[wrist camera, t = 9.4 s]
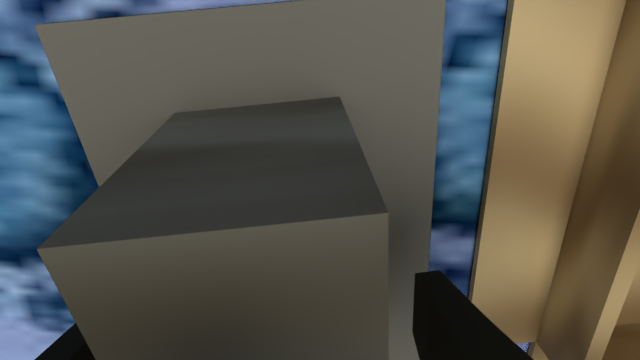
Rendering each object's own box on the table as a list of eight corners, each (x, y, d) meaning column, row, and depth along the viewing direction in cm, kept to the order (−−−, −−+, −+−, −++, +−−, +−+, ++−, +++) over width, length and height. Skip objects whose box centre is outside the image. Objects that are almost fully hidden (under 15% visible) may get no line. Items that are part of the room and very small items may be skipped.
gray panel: (417, 354, 16) (421, 366, 15) (184, 378, 16) (180, 392, 15) (438, -13, 10) (447, -13, 9) (48, 23, 9) (34, 25, 9)
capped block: (354, 329, 14) (388, 532, 9) (236, 342, 14) (200, 554, 9) (339, 96, 10) (388, 213, 5) (174, 112, 10) (36, 249, 5)
